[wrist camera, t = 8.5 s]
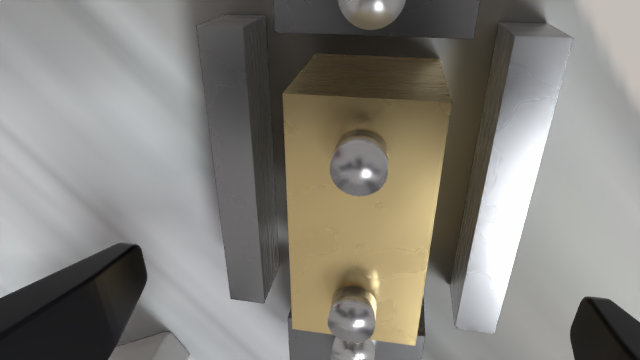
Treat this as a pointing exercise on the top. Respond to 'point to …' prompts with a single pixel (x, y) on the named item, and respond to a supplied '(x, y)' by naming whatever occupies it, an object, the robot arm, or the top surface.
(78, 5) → the top surface
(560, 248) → the top surface
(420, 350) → the studded rectangular link
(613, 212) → the top surface
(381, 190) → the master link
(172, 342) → the grey angular piece
